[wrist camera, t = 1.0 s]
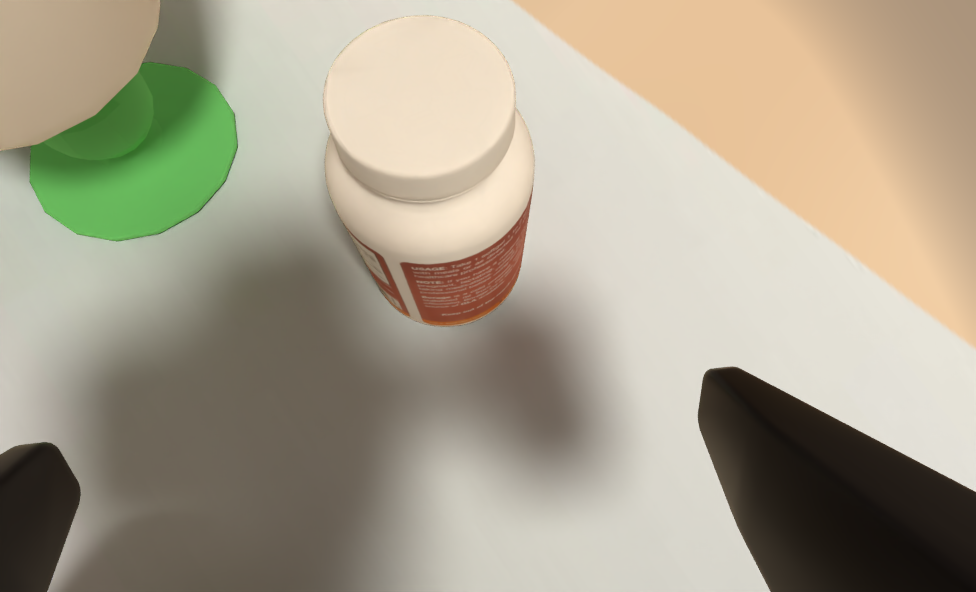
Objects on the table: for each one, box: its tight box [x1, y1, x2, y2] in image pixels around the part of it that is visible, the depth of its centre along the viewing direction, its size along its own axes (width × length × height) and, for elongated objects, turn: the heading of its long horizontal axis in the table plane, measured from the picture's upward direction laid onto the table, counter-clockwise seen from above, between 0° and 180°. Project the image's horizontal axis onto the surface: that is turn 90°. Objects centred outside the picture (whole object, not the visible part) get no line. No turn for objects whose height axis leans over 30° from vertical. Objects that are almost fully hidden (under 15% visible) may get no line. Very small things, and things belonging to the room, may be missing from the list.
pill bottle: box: [323, 15, 535, 327], centre depth 19 cm, size 6×6×11 cm
